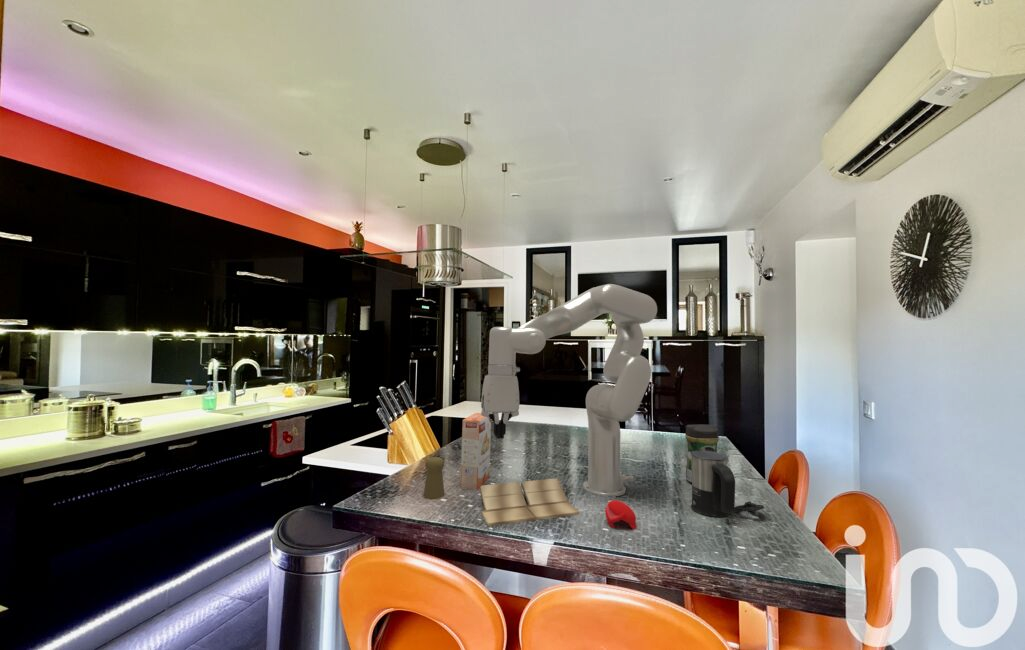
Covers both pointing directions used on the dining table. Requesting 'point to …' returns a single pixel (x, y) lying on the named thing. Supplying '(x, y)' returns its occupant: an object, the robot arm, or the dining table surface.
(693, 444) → the coffee jar
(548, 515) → the laid board
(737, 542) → the dining table surface
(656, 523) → the dining table surface
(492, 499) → the plank
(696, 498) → the milk frother
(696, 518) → the dining table surface
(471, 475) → the cracker box
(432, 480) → the cork
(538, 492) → the plank
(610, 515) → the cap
